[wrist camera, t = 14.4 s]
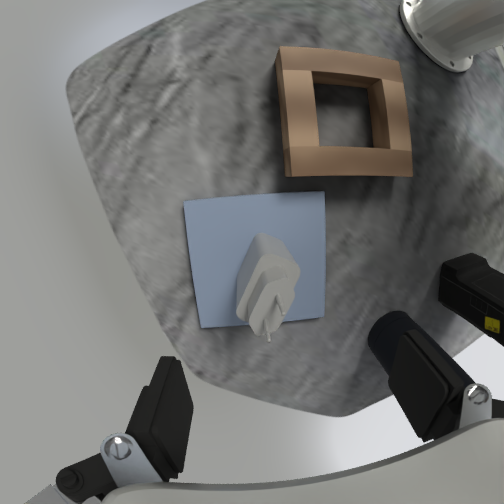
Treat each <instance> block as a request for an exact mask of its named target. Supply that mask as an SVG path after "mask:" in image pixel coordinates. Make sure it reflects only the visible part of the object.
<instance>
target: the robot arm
mask: <svg viewBox="0 0 504 504" xmlns="http://www.w3.org/2000/svg"><path fill="white" fill-rule="evenodd" d="M400 15H401V18H402V21H403V23H404V25H405V27H406V30H407V31H408V33H409V34H410V36H411V37H412V39H413V40H414V41H415V43H416V44H417V45H418V46H419V48H420V49H421V50H422V51H423V52H424V53H425V54H426V55H427V56H428V57H429V58H430V59H432V60H433V61H434V62H435V63H437V64H438V65H440V66H441V67H443V68H444V69H447V70H449V71H452V72H463V71H466V70H467V69H469V68H470V66H471V65H472V62H473V55H475V54H478V53H481V52H484V51H486V50H489V49H492V48H495V47H498V46H501V45H504V0H402V2H401V4H400ZM388 384H389V387H390V389H391V391H392V392H393V394H394V396H395V398H396V399H397V401H398V403H399V404H400V406H401V408H402V410H403V411H404V413H405V415H406V417H407V418H408V420H409V422H410V424H411V426H412V427H413V429H414V431H415V433H416V435H417V436H418V437H419V438H422V440H423V442H426V441H428V440H431V439H433V438H435V439H436V440H434V441H432V442H429V443H427V444H424V445H422V446H420V447H417V448H415V449H412V450H410V451H407V452H404V453H402V454H399V455H396V456H393V457H390V458H387V459H384V460H381V461H378V462H374V463H371V464H367V465H364V466H360V467H357V468H353V469H349V470H344V471H340V472H335V473H331V474H326V475H320V476H315V477H309V478H302V479H295V480H287V481H278V482H267V483H253V484H252V483H249V484H198V483H175V482H169V479H170V478H174V479H177V478H178V473H182V472H183V468H184V461H185V455H186V449H187V444H188V438H189V432H190V426H191V420H192V415H193V402H192V399H191V396H190V392H189V389H188V385H187V382H186V379H185V375H184V372H183V368H182V365H181V361H180V360H176V358H175V357H174V356H162V357H161V358H160V360H159V363H158V365H157V367H156V370H155V372H154V375H153V377H152V380H151V382H150V385H149V386H144V387H143V389H142V391H141V394H140V396H139V398H138V401H137V404H136V406H135V409H134V411H133V414H132V416H131V419H130V421H129V424H128V427H127V430H126V432H125V434H124V433H115V434H111V435H110V436H108V437H106V438H105V439H104V440H103V442H102V444H101V447H100V451H101V453H99V454H97V455H94V456H92V457H90V458H88V459H85V460H83V461H80V462H78V463H76V464H73V465H70V466H68V467H65V468H64V469H62V470H61V471H60V472H59V473H58V474H57V477H56V484H55V485H54V486H52V485H51V484H50V485H49V486H48V487H46V488H45V489H43V490H42V491H41V492H40V493H38V494H37V495H35V496H34V497H33V498H31V499H30V500H28V501H27V502H26V503H24V504H504V401H501V400H496V399H492V395H491V392H490V390H489V389H488V388H487V387H486V386H484V385H481V384H470V385H469V386H467V387H466V388H465V387H464V386H463V385H464V382H463V381H462V380H461V378H460V377H459V376H458V375H457V374H456V373H455V371H454V370H453V369H452V368H451V367H450V366H449V364H448V363H447V362H446V361H445V360H444V359H443V358H442V357H441V355H440V354H439V353H438V352H437V351H436V350H435V349H434V348H433V347H432V346H431V344H430V343H429V342H428V341H427V340H426V339H425V338H424V337H423V336H422V335H421V334H420V333H419V332H418V331H417V330H416V329H414V330H410V331H405V332H404V333H403V334H402V336H400V338H399V342H398V347H397V351H396V355H395V358H394V362H393V366H392V369H391V373H390V376H389V380H388Z"/></svg>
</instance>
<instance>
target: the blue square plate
mask: <svg viewBox="0 0 504 504" xmlns="http://www.w3.org/2000/svg"><path fill="white" fill-rule="evenodd" d="M183 203H184V212H185V221H186V230H187V238H188V246H189V253H190V261H191V268H192V275H193V282H194V288H195V295H196V301H197V307H198V313H199V319H200V324H201V328H208V327H225V326H240V325H250V324H249V323H248V322H246V321H243V320H241V319H240V318H239V317H238V316H237V314H236V305H237V275H238V272H239V270H240V268H241V265H242V263H243V261H244V258H245V256H246V254H247V252H248V249H249V247H250V245H251V242H252V240H253V238H254V236H255V235H256V234H258V233H265V234H268V235H270V236H272V237H275V238H277V239H279V240H281V241H282V242H283V243H284V244H285V246H286V248H287V249H288V251H289V252H290V254H291V255H292V257H293V258H294V260H295V261H296V263H297V264H298V266H299V268H300V271H301V272H300V277H299V279H298V281H297V283H296V285H295V287H294V292H295V298H294V300H293V302H292V304H291V306H290V308H289V310H288V312H287V314H286V316H285V317H284V319H283V321H282V322H285V321H294V320H303V319H311V318H319V317H324V308H325V272H326V228H325V193H324V191H304V192H284V193H267V194H253V195H239V196H228V197H216V198H206V199H196V200H187V201H184V202H183Z"/></svg>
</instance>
